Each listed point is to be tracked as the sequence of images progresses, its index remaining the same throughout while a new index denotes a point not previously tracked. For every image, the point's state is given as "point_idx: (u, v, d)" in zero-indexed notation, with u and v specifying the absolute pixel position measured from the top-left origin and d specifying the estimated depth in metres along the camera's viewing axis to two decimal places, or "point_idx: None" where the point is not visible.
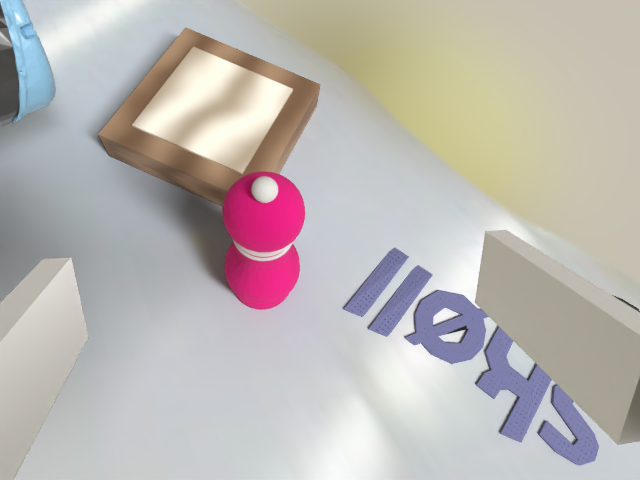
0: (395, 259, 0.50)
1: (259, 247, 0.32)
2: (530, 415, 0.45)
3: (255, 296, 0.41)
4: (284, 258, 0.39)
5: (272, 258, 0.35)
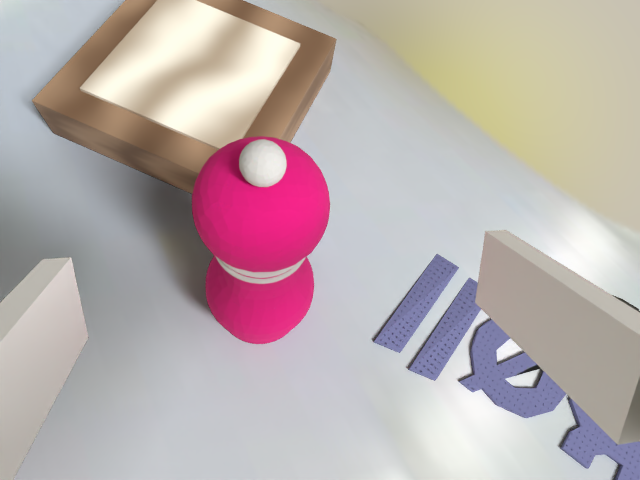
0: (441, 271, 0.37)
1: (254, 265, 0.18)
2: None
3: (249, 330, 0.28)
4: (294, 276, 0.26)
5: (275, 279, 0.22)
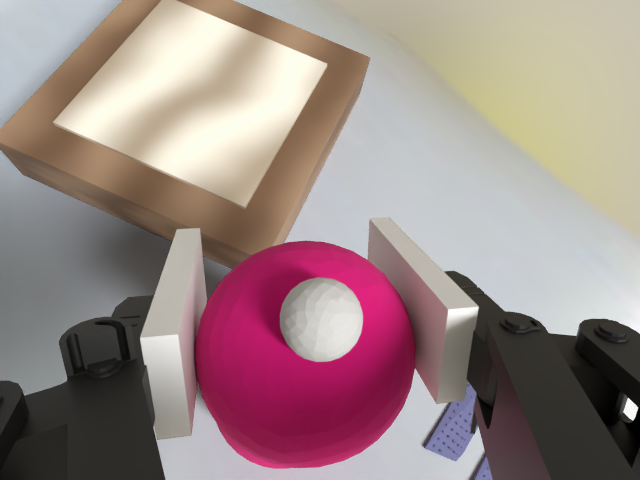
0: None
1: (298, 467, 0.11)
2: None
3: (272, 464, 0.20)
4: None
5: None
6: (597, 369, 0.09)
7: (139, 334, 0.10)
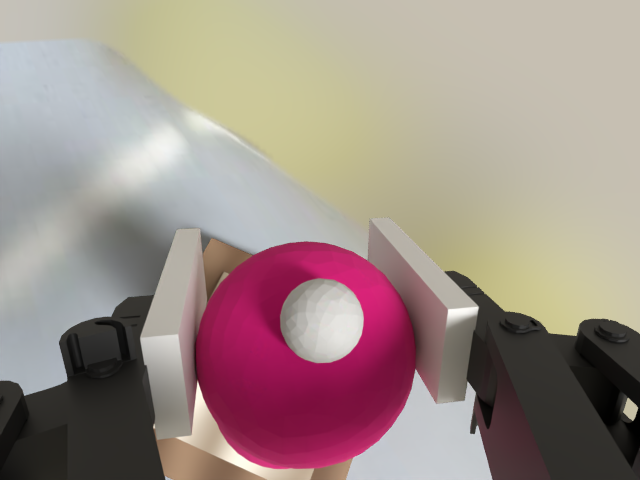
0: None
1: (298, 468, 0.11)
2: None
3: (272, 465, 0.20)
4: None
5: None
6: (597, 369, 0.09)
7: (139, 334, 0.10)
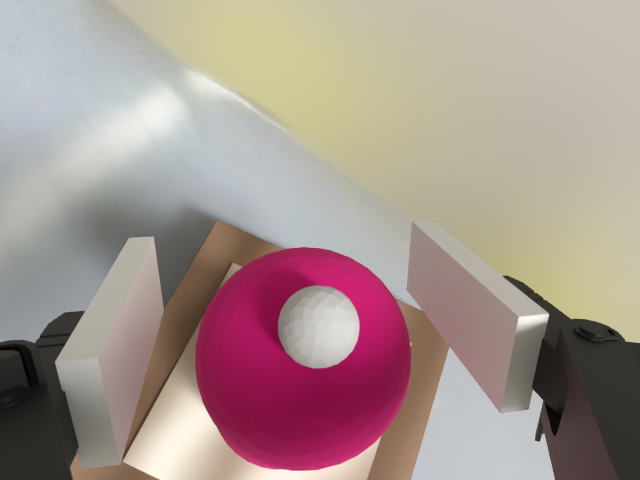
0: None
1: (296, 470, 0.11)
2: None
3: (271, 465, 0.21)
4: None
5: None
6: None
7: None
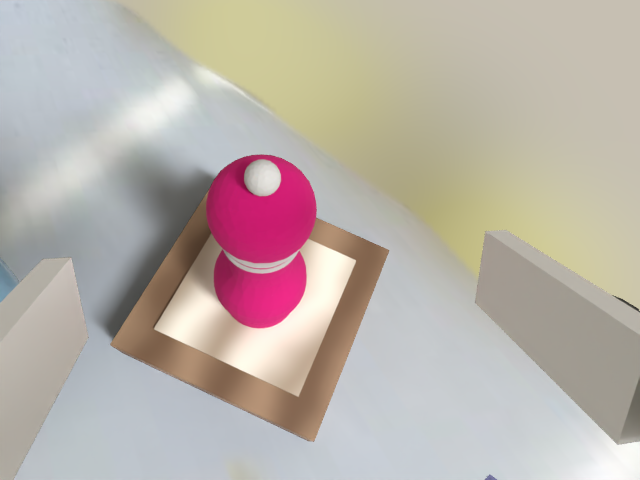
0: None
1: (255, 257, 0.23)
2: None
3: (251, 315, 0.33)
4: (289, 268, 0.30)
5: (273, 270, 0.27)
6: None
7: None
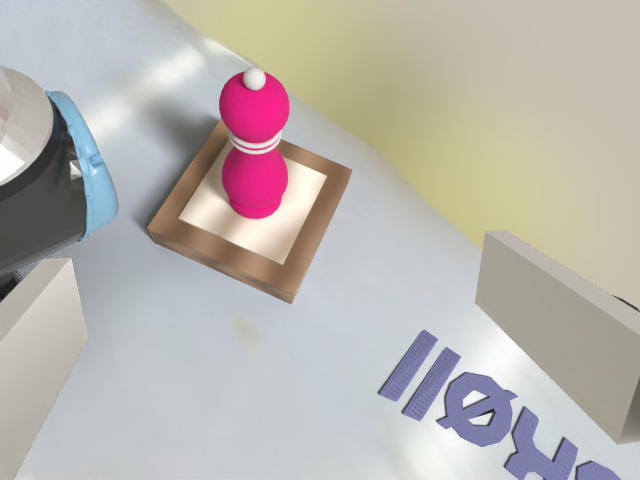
0: (425, 342, 0.53)
1: (250, 132, 0.37)
2: None
3: (248, 197, 0.47)
4: (274, 160, 0.45)
5: (262, 151, 0.41)
6: None
7: None
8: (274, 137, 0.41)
